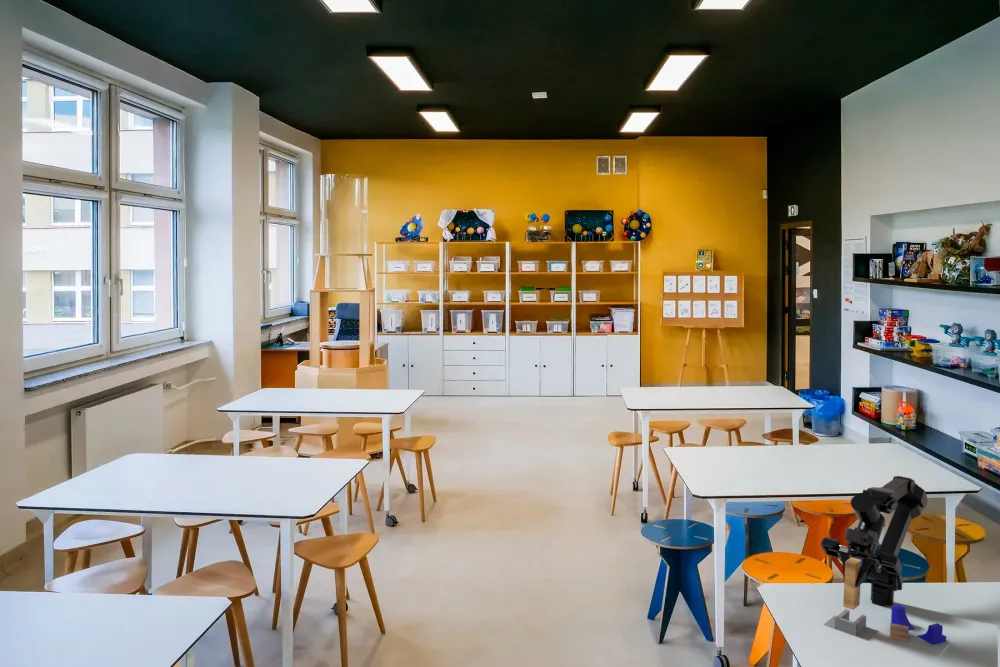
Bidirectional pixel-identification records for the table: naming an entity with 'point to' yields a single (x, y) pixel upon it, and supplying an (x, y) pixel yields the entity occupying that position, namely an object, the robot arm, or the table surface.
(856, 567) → the tall strip
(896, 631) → the upper offcut
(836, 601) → the table surface
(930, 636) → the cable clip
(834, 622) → the rack
